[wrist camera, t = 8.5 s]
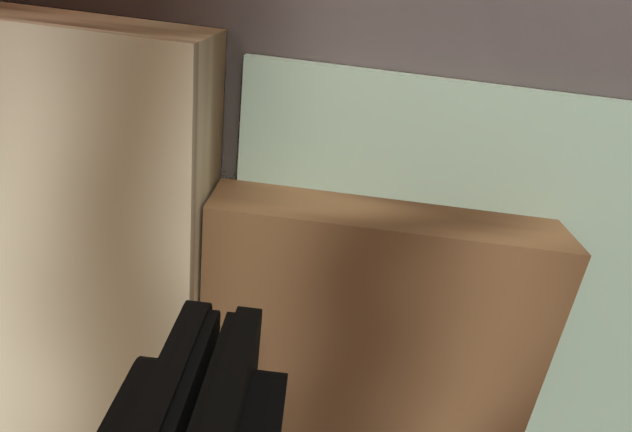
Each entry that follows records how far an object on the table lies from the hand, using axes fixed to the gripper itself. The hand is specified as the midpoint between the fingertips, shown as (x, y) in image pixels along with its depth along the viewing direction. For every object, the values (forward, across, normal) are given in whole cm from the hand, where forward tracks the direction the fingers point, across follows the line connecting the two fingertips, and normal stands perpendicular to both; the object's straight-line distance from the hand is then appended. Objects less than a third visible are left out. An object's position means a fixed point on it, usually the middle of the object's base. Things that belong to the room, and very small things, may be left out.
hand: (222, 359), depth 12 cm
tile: (+4, -4, +1) cm, 5 cm away
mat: (+4, -6, 0) cm, 8 cm away
